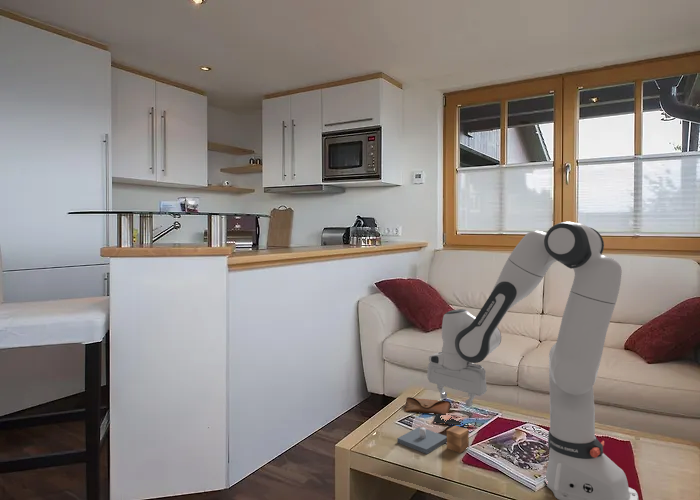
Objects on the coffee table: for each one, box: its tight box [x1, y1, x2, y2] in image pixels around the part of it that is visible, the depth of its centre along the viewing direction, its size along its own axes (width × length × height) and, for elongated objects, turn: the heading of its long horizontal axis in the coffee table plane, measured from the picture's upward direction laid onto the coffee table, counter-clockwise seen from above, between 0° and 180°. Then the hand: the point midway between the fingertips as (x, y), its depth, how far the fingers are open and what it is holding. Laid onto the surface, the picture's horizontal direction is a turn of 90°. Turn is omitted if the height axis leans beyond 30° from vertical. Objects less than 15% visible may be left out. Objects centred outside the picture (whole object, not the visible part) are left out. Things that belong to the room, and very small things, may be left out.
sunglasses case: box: [403, 396, 452, 414], centre depth 185 cm, size 18×7×7 cm, turn 73°
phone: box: [432, 414, 478, 426], centre depth 173 cm, size 8×1×15 cm
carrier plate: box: [396, 426, 447, 455], centre depth 158 cm, size 12×12×4 cm
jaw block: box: [446, 425, 470, 454], centre depth 153 cm, size 5×5×6 cm
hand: (456, 401), depth 152 cm, fingers open, 8 cm apart
